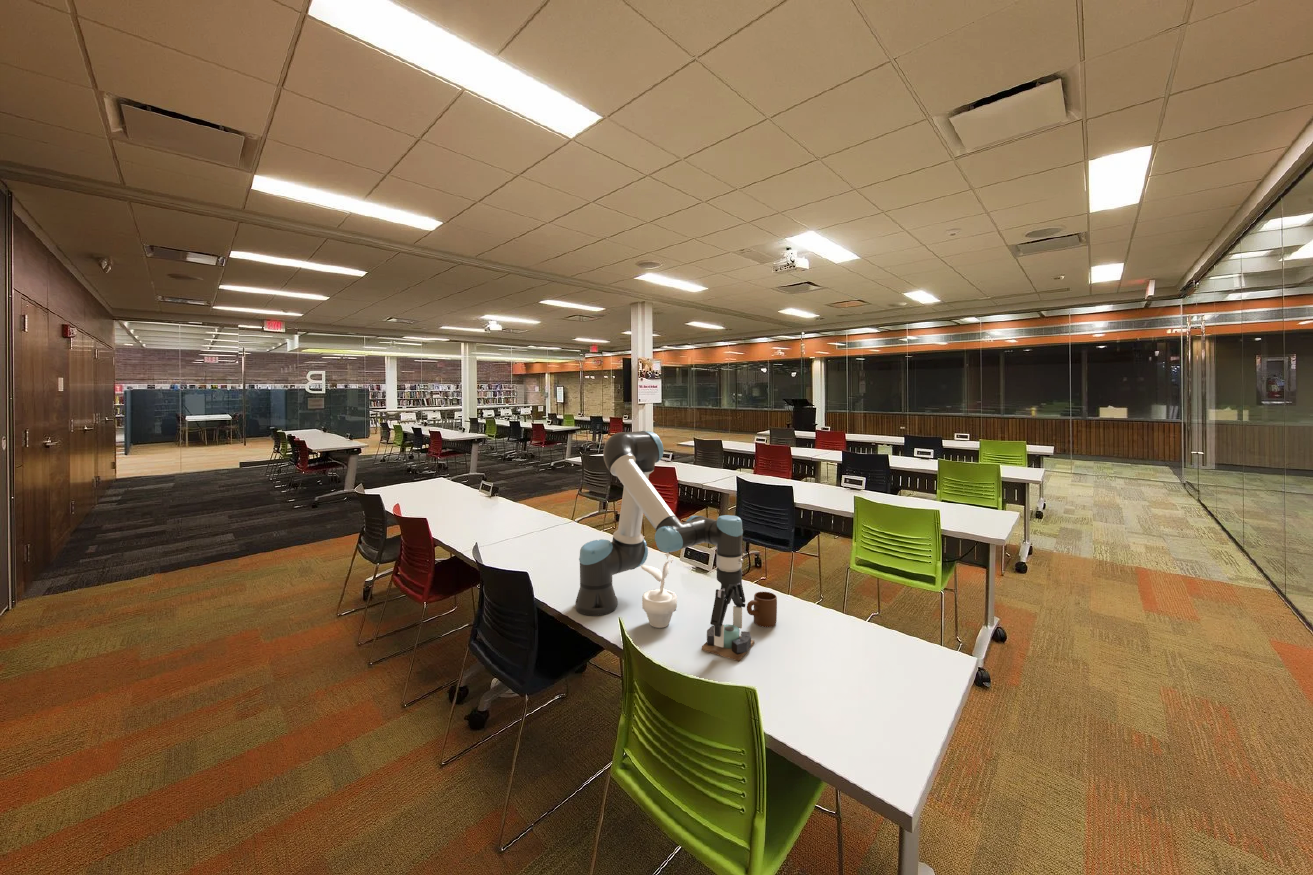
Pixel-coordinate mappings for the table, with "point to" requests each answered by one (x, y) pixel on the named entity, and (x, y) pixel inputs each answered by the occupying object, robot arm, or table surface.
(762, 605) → the mug
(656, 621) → the potted plant
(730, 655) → the board
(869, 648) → the table surface
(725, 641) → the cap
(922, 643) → the table surface
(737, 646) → the pair of curved blocks
